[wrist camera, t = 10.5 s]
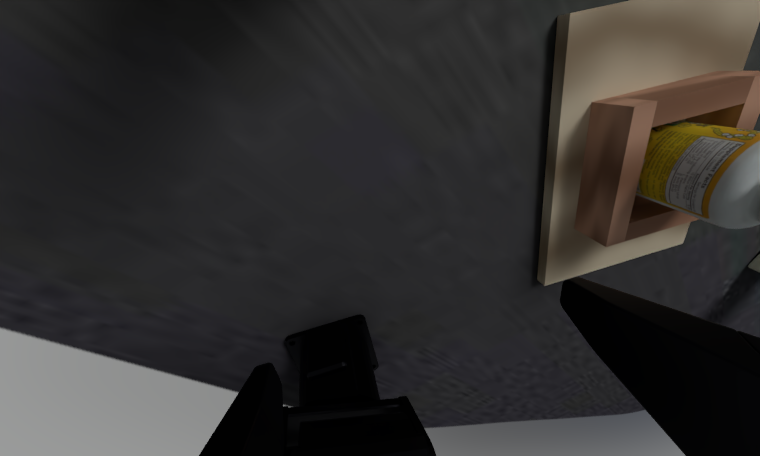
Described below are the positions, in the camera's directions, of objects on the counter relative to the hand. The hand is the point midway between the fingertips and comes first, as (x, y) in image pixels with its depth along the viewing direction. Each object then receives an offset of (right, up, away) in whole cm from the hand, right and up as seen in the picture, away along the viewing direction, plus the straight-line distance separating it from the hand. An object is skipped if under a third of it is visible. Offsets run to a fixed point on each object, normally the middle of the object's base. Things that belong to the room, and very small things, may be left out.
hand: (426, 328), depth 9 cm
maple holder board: (+18, +9, +15) cm, 25 cm away
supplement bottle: (+18, +8, +14) cm, 24 cm away
